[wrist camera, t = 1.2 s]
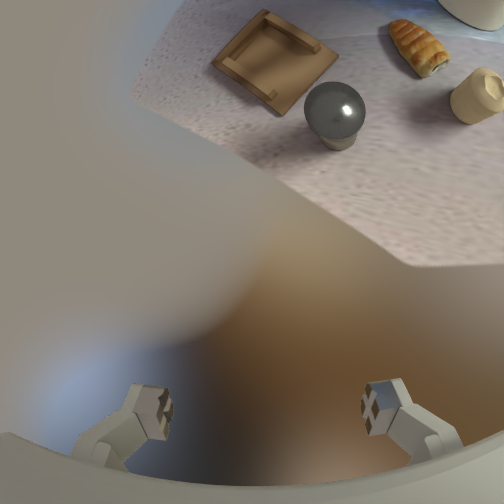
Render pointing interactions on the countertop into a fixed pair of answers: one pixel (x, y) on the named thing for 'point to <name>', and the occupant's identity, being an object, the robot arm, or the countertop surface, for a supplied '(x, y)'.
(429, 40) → the pastry
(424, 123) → the countertop surface
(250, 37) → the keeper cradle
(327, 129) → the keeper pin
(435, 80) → the countertop surface
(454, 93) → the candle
